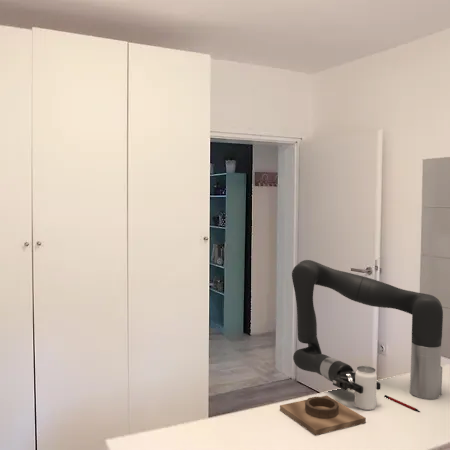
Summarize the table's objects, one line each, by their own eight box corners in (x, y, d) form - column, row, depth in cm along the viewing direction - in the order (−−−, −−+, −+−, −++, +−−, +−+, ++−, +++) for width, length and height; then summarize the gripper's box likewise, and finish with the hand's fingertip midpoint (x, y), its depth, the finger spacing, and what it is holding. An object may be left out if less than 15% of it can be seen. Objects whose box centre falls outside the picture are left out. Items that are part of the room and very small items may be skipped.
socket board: (326, 399, 161) (327, 387, 160) (365, 422, 144) (365, 409, 144) (279, 410, 153) (280, 397, 152) (315, 435, 136) (315, 421, 136)
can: (373, 402, 159) (374, 365, 158) (377, 411, 152) (378, 373, 152) (353, 401, 160) (354, 364, 159) (356, 410, 153) (357, 372, 152)
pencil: (419, 413, 152) (419, 410, 152) (384, 398, 164) (384, 395, 163) (421, 413, 152) (421, 410, 152) (386, 397, 164) (386, 394, 164)
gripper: (319, 363, 165) (353, 380, 150) (353, 357, 171) (388, 373, 157) (319, 385, 165) (352, 404, 151) (352, 379, 172) (388, 396, 157)
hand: (370, 388), depth 154 cm, fingers closed on can, 6 cm apart
